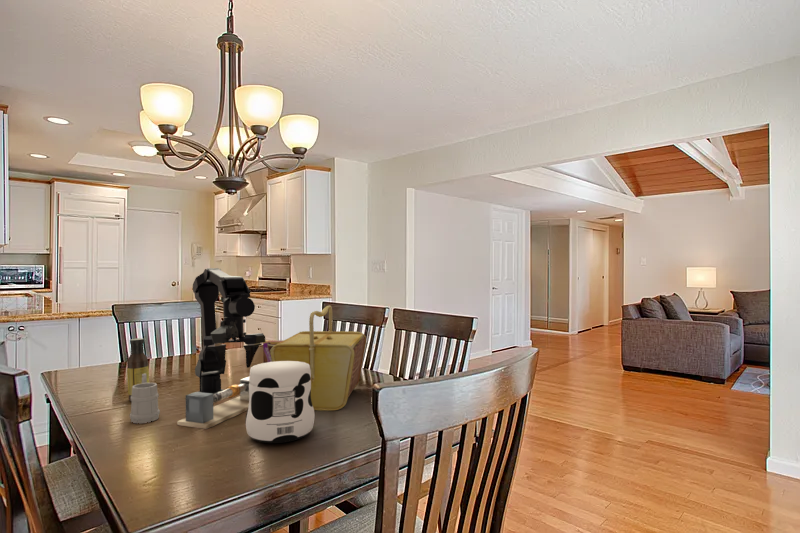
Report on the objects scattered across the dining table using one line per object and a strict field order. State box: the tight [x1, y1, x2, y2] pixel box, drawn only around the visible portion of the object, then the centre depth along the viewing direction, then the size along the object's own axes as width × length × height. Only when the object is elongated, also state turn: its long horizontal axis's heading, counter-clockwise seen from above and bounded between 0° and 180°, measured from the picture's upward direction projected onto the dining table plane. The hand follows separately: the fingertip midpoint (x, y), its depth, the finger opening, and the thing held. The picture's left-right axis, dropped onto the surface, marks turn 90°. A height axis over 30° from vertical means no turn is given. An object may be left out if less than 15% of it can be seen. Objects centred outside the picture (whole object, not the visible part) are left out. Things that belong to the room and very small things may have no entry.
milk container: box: [244, 361, 315, 444], centre depth 123 cm, size 17×17×18 cm
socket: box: [185, 391, 214, 423], centre depth 133 cm, size 4×6×7 cm, turn 71°
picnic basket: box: [270, 304, 367, 412], centre depth 157 cm, size 29×26×30 cm
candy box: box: [262, 339, 285, 363], centre depth 182 cm, size 9×4×15 cm, turn 89°
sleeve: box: [239, 376, 249, 401], centre depth 157 cm, size 9×4×6 cm, turn 161°
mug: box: [129, 374, 161, 424], centre depth 139 cm, size 8×12×12 cm, turn 30°
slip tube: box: [213, 382, 249, 403], centre depth 149 cm, size 22×3×3 cm, turn 161°
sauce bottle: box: [126, 337, 150, 402], centre depth 158 cm, size 6×6×20 cm
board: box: [176, 395, 249, 430], centre depth 146 cm, size 33×10×1 cm, turn 161°
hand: (235, 367), depth 147 cm, fingers open, 9 cm apart
